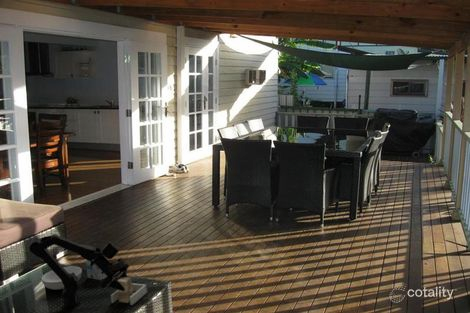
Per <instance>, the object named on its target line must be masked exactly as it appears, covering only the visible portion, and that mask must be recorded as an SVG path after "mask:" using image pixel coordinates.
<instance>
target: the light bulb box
mask: <svg viewBox="0 0 470 313" xmlns="http://www.w3.org/2000/svg"><path fill="white" fill-rule="evenodd" d="M84 260H85V265H86V274H87V278H88V279H93V280H98V281H103V280H104V279H105V278H107V276H106V275H105V274H104V273H103V274H102V273H101V272H102V271H101V270H100V269H99V268H98V267H97V266H96V265H94V266H90V264H91V262H90V261H88V260H86V259H84ZM102 279H103V280H102Z"/></svg>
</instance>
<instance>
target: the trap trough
mask: <svg viewBox="0 0 470 313" xmlns="http://www.w3.org/2000/svg"><path fill="white" fill-rule="evenodd" d="M132 290H133V295H132V296H130V297H129V298H130V302H129V303H130V306H133V305H135V304H136V303H137V302H139V300H140V299H141V298H143V297H144V296H145V295H146V294H147V293H149V292H148V284H144V283H133V282H132ZM110 301H111V303H112V304H113V303H115V302H117V301H119V295H118V289H116V291H114V292H113V293H112V294H110Z"/></svg>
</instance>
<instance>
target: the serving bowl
mask: <svg viewBox="0 0 470 313" xmlns="http://www.w3.org/2000/svg"><path fill="white" fill-rule="evenodd" d="M62 267H63V268H64V269H65V270H66V271H67V272H68V273H70V274H72V273H73V272H74V274H75V275H76V276H77V277H78V280H79V281H80V279H81V278H82V274H83V270H82V268H81V267H79V266H76V265H75V266H74V265H73V266H62ZM41 281H42V284H43V285H44V287H45V288H47V289H50V290H63V288H64V285H63V283H62V281H61V279H60V278H59V277H58V276H57V275H56V274H55V272H54V271H53V270H52V269H51V270H50V271H48V272H46V273H45V274H43V275H42V276H41Z"/></svg>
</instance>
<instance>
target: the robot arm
mask: <svg viewBox="0 0 470 313" xmlns="http://www.w3.org/2000/svg"><path fill="white" fill-rule="evenodd" d="M52 246H58V247H61V248H62V249H66V250H68V251H70V252H73V253H75V254H78V255H79V256H80V257H81V258H83V259H84V260H88V261H90V262H91V264H90V266H94V265H96V266H97V267H98V268H99V269H100V270H101V271H102V272H101V273H102V274H103V273H104V274H105V275H106V276H107V277H106V278H104V279H103V280H102V282H101V283H100V288H101V289H103V290H105V289H106V288H107V287H108V288H112V289H116V290H121V291H124V290H125V289H124V287H123V286H122V285H121V284H120V283H119V282H118V280H119V279H120V278H122V277H128V275H127V271H128V269H129V268H130V265H129V264H128V263H126V259H124V258H123V257H120V258H117V261H115V262H114V261H109V260H110V259H113V258H114V257H115V256H116V255H117V254H118V253H119V252H120V251H121V250H120V248H119V247H118V246H117V245H116V244H115V243H113V242H111V241H108V243H107V244H106V245H105V246H104V247H95V246H94V245H89V244H81V243H77V242H76V241H73V240H70V239H68V238H65V237H62V236H60V235H58V234H56V233H53V234H51V235H48V236H43V237H37V238H33V239H32V240H31V242H30V245H29V251H30V253H31V254H33V255H34V256H36V257H37V258H40V259H41V260H42V261H43V262H44V263H45V264H46V265H47V266H48V267H49V268H50V270H51V271H52V270H53V271H54V272H55V274H56V275H57V276H58V277H59V278H60V279H61V281H62V283H63V285H64V288H63V289H62V295H61V296H62V300H63V301H62V302H63V305H62V307H61V308H62V309H67V310H68V309H70V310H74V308H76V307H78V306H79V305H80V304H81V301H79V298H78V297H79V296H78V293H77V291H78V290H79V284H80V283H79V282H80V279H79V280H78V277H77V276H76V275H75V274H74V272H73V273H72V274H70V273H68V272H67V271H66V270H65V269H64V268H63V267H64V266H62V265H61V263H60V262H59V261H58V260H57V259H56V257H54V256H53V255H52V254H51V252H50V251H49V249H48V248H49V247H52Z"/></svg>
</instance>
